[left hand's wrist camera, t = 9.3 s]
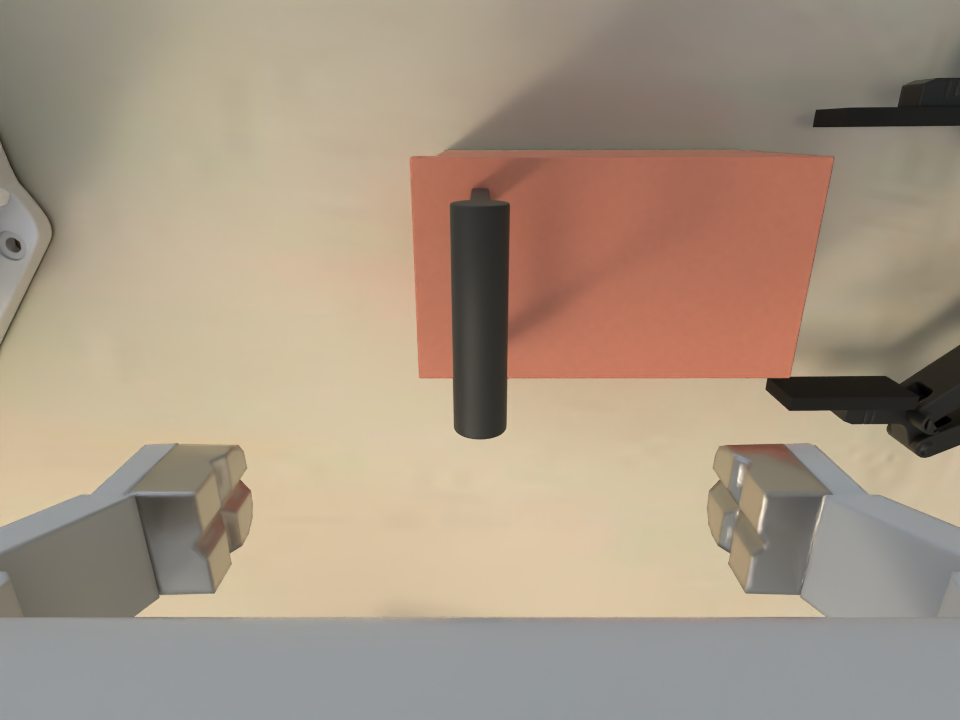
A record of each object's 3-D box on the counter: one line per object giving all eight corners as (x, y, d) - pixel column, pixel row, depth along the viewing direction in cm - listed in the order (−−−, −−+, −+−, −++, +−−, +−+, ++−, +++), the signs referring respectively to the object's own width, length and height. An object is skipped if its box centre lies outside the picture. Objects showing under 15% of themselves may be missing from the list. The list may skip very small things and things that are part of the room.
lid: (421, 369, 28) (396, 467, 20) (412, 156, 25) (377, 167, 16) (778, 369, 28) (902, 467, 20) (820, 155, 25) (991, 166, 16)
